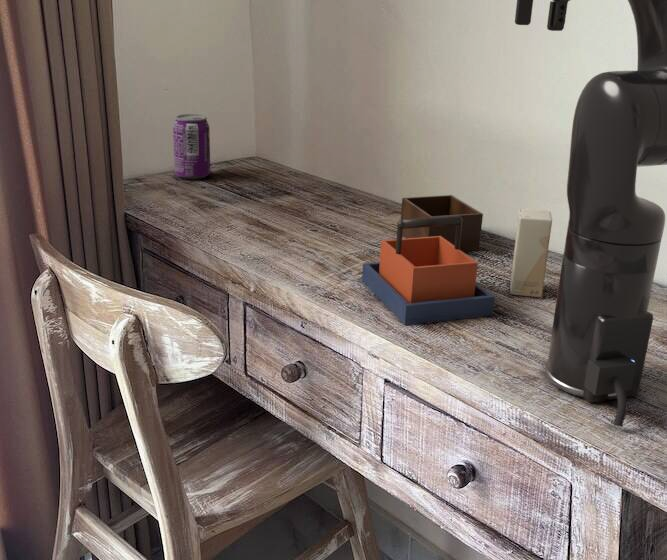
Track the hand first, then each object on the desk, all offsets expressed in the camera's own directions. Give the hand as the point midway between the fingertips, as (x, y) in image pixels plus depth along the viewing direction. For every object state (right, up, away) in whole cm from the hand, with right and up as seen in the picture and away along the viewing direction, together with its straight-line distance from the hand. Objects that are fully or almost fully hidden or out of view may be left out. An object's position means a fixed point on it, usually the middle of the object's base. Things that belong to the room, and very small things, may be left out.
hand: (538, 27), depth 114 cm
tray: (-16, -38, -4) cm, 41 cm away
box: (-2, -37, 0) cm, 37 cm away
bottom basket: (-12, -29, +18) cm, 36 cm away
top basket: (-16, -37, -4) cm, 41 cm away
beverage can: (-57, -15, +50) cm, 78 cm away
